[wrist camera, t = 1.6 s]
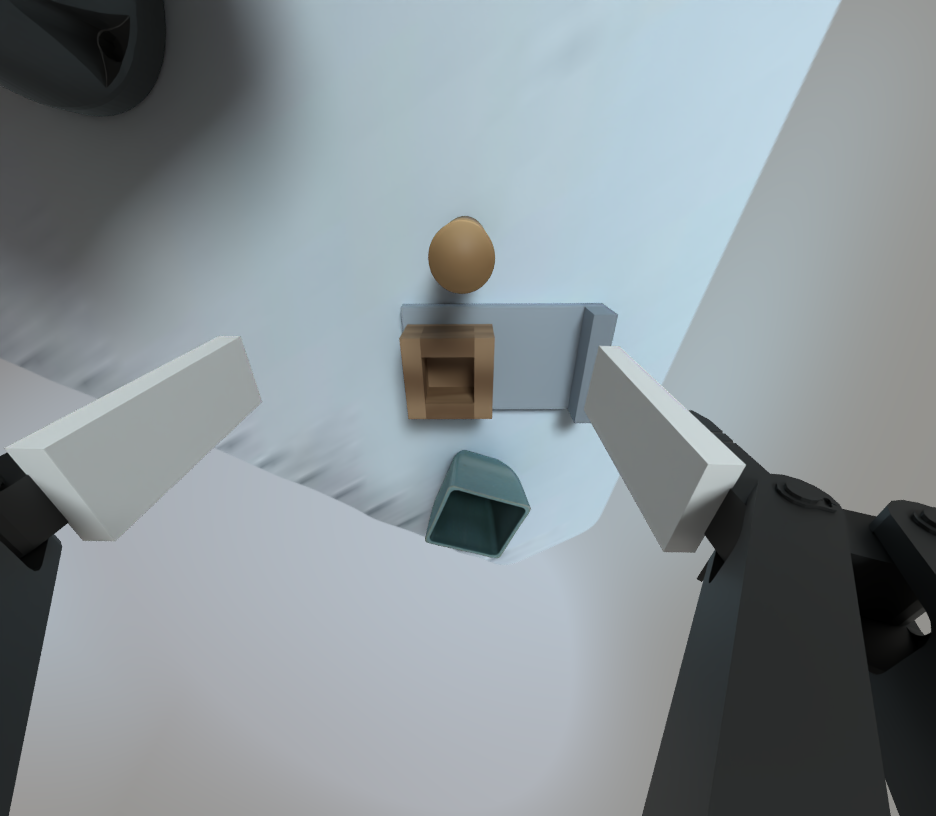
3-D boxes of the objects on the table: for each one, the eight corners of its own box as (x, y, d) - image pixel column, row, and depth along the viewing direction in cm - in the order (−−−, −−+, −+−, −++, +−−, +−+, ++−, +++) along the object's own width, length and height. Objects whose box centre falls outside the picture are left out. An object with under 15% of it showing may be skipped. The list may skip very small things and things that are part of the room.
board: (402, 304, 32) (394, 315, 29) (602, 303, 32) (618, 314, 29) (413, 403, 38) (407, 423, 34) (582, 403, 38) (594, 423, 34)
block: (407, 324, 32) (399, 338, 28) (492, 323, 32) (494, 338, 28) (414, 398, 36) (408, 419, 32) (489, 398, 36) (492, 418, 32)
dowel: (443, 216, 29) (426, 221, 17) (486, 215, 28) (496, 220, 17) (445, 262, 30) (430, 293, 19) (485, 261, 30) (493, 293, 19)
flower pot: (521, 452, 41) (533, 508, 34) (493, 500, 46) (498, 560, 38) (453, 431, 40) (449, 485, 32) (431, 483, 44) (423, 542, 36)
